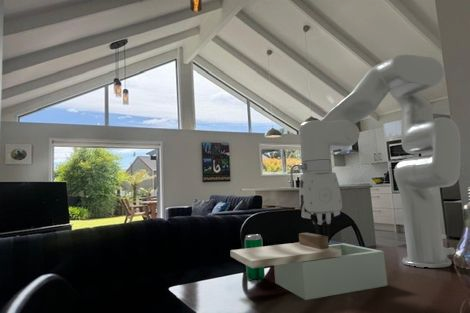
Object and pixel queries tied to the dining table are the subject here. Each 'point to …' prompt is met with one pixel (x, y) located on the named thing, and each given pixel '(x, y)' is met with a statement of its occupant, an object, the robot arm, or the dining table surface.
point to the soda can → (253, 242)
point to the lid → (287, 252)
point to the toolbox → (334, 273)
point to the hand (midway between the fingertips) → (323, 239)
